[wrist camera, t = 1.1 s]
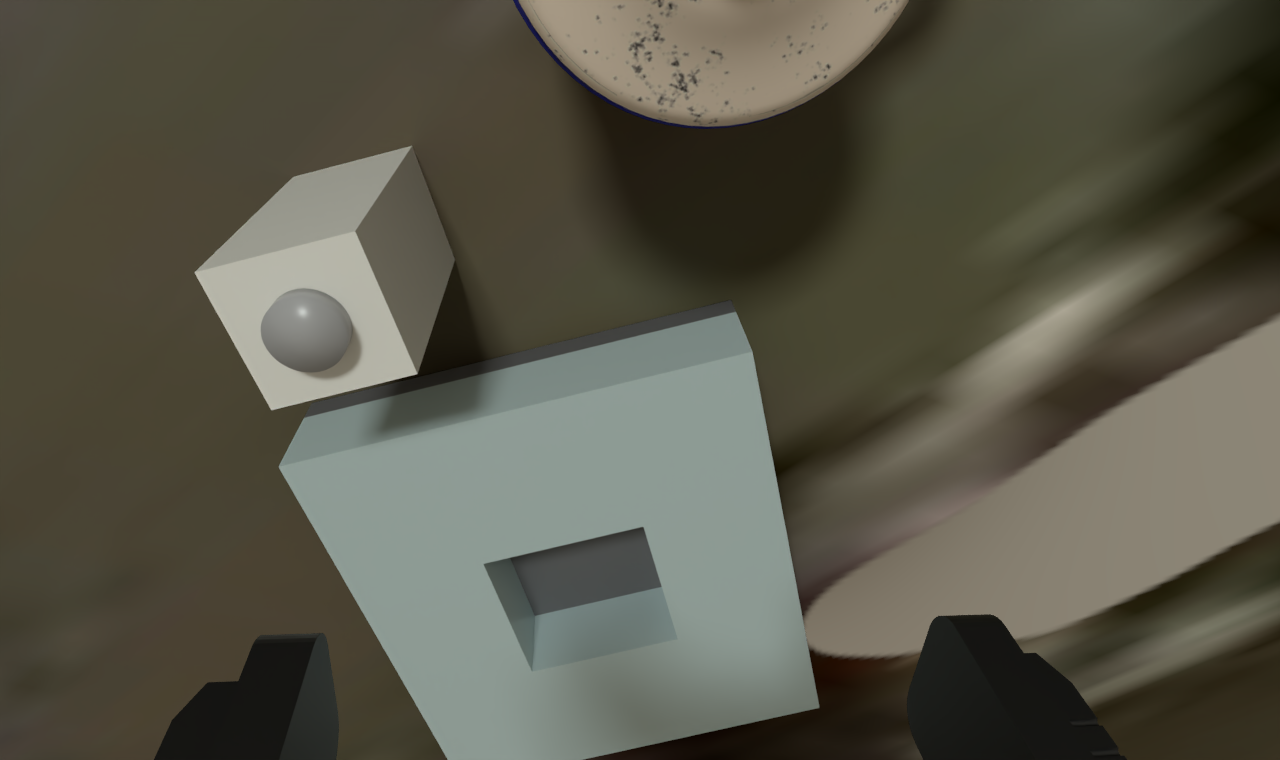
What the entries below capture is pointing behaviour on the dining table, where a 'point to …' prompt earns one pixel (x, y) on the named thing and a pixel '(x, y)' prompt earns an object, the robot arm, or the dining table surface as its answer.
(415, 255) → the cream block with knob
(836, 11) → the teacup with lid
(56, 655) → the dining table surface
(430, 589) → the outlet block
